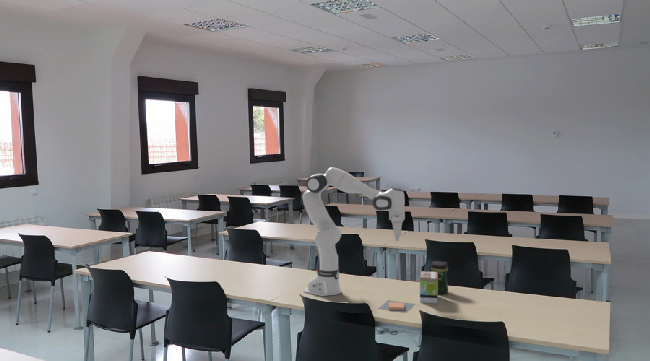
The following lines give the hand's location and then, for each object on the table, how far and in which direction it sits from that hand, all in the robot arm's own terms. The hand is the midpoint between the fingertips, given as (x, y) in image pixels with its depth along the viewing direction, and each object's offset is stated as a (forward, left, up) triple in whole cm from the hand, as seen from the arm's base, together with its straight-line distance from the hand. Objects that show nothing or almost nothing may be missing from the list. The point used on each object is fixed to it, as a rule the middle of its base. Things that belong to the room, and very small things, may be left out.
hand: (397, 240), depth 298 cm
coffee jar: (+20, +18, -33) cm, 43 cm away
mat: (+6, -18, -33) cm, 38 cm away
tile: (+5, -17, -32) cm, 36 cm away
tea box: (+18, +2, -33) cm, 38 cm away
